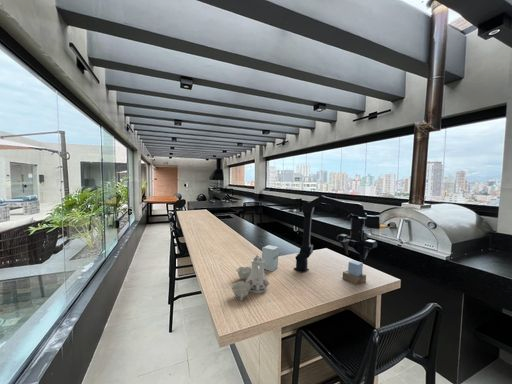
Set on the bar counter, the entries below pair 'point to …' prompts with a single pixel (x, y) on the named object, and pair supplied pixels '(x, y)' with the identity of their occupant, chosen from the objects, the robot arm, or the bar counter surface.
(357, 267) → the slate block
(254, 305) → the bar counter surface
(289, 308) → the bar counter surface
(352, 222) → the robot arm
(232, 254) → the bar counter surface
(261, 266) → the grey lumpy piece
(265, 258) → the supplement box
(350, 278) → the walnut block
